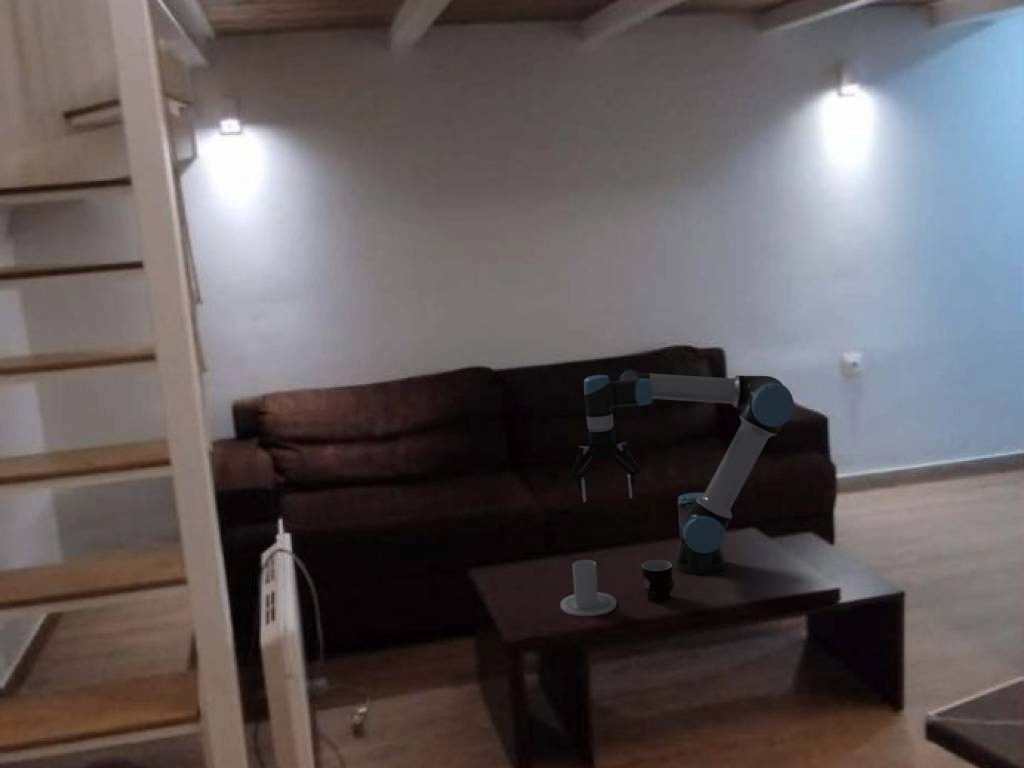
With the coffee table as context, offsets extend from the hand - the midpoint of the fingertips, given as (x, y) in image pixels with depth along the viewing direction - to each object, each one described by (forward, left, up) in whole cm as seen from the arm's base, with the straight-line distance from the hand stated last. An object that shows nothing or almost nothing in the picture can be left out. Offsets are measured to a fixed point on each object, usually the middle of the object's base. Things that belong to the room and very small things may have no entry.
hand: (607, 498), depth 302 cm
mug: (+7, +15, -26) cm, 31 cm away
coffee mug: (-14, +12, -27) cm, 33 cm away
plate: (+6, +15, -27) cm, 31 cm away
